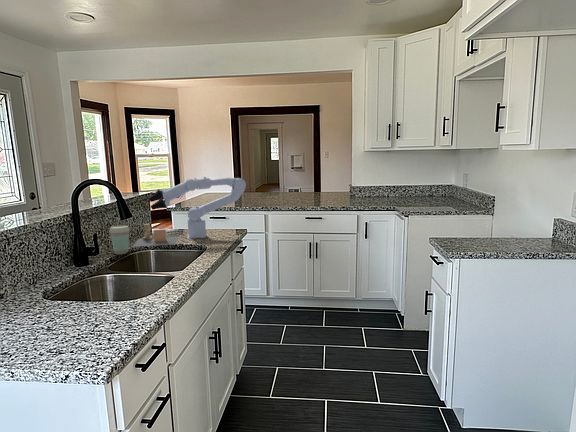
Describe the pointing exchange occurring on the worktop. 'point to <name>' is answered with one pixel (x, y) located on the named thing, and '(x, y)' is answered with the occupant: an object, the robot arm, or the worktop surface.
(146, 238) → the stepped wooden block
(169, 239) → the mat
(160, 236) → the tile
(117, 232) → the coffee cup
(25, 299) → the worktop surface
